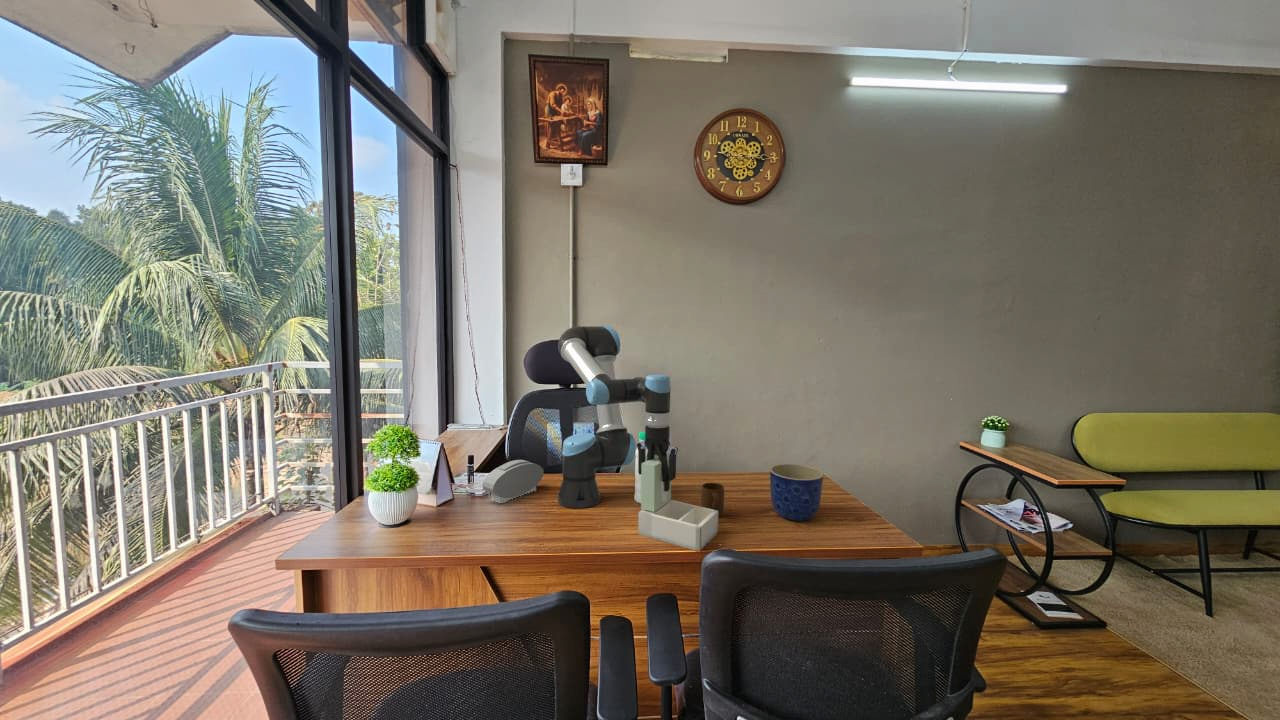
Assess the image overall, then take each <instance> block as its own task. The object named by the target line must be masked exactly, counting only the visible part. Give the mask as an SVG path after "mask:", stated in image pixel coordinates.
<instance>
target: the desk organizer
mask: <svg viewBox="0 0 1280 720" xmlns="http://www.w3.org/2000/svg"><path fill="white" fill-rule="evenodd" d="M637 525H638V528H637V531H638V535H639V536H642V537H646V538H649V539H652V540H656V541H660V542H663V543H666V542H667V543H666V544H671V545H673V546H678V547H682V548H685V549H689V550H691V551H695V550H699V551H700V550H701V548H702V547H703V548H705V546H706V545H707V544H709V543H710V542H711V540H712V539H713V538H715V536H716V535H718V533H719V517H718V510H713V509H709V508H704V507H701V505H694V504H691V503H687V502H681V501H679V500H675V499H674V500H672V499H671V500H670V501H669V502H667V503H666V504H664V505H663V506H662V507H660V508H659V509H657V510H656V511H654V512H653V511H649V510H645V509H641V510H640V511H638V523H637ZM703 548H702V549H703ZM699 551H698V552H699ZM700 552H701V551H700Z"/></svg>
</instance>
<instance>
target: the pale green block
mask: <svg viewBox="0 0 1280 720" xmlns="http://www.w3.org/2000/svg"><path fill="white" fill-rule="evenodd" d="M667 462H668V467H669V456H668V455H667ZM661 467H662V462H660V460H659V459H658V456H657V455H655V456H654V459H652V460H648V461H646V462H644V463H642V464H641V504H640V509H641V510H643V509H645V510H649V511H653V512H654V511H656V510H657V509H659V508H660V507H662V506H663V505H664V504H666V503H667V502H669V501H670V500H672V480H671V481H670V489H669V491H667V500H666V501H664V502H661V481H662V480H663V475H662V470H661Z"/></svg>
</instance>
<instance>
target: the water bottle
mask: <svg viewBox="0 0 1280 720" xmlns="http://www.w3.org/2000/svg"><path fill="white" fill-rule="evenodd" d="M645 439H646V437H645V431H640V432H639V433H638V440H639V443H640V442H644V441H645ZM645 450H646V461H647V453H648V449H647V448H645ZM634 479H635V481H634V501H635V502H636V503H637V504H640V505H641V474H639V473H638V448H637V447H636V450H635V462H634Z"/></svg>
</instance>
